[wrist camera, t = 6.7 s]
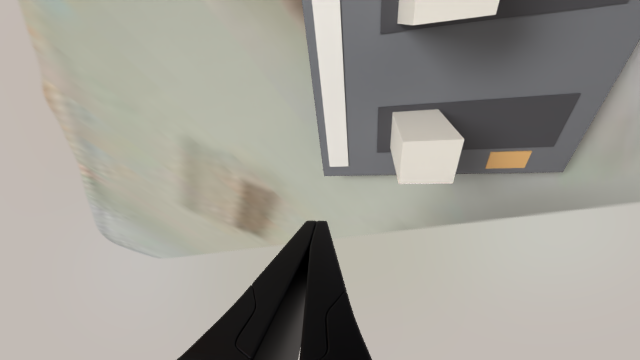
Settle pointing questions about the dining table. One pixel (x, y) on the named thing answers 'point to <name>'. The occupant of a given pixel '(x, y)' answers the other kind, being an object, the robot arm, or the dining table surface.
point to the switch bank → (466, 79)
